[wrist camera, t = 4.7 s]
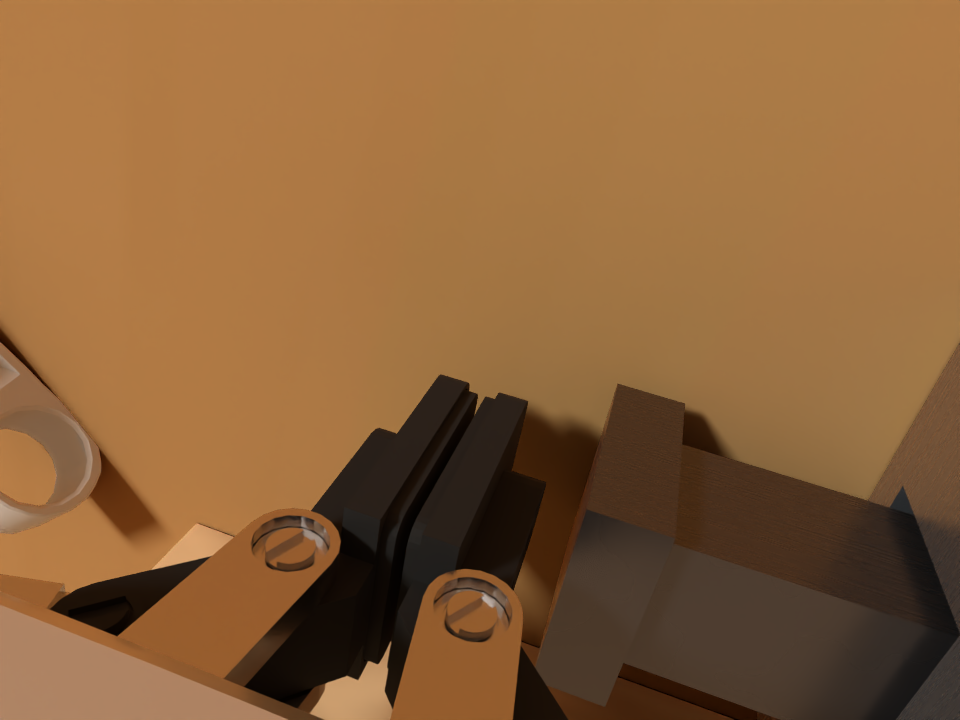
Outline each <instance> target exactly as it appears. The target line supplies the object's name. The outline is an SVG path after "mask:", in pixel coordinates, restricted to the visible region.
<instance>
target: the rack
mask: <svg viewBox="0 0 960 720" xmlns="http://www.w3.org/2000/svg"><path fill="white" fill-rule="evenodd" d="M232 538H234V537H233V536H230V535H227V534H225V533H222V532H219V531H216V530H214V529H211V528H208V527H205V526H203V525H200V524H197V523H196V524H195V525H194V526H193V527H192V529H191V530H190V531H189V532H188V533H187V534H186V535H185V536H184V537H183V538H182V539H181V540H180V541H179V542H178V543H177V544H176V545H175V546H174V547H173V548H172V549H171V550H170V551H169V552H168V553H167V554H166V555H165V556H164V557H163V558H162V559H161V560H160V561H159V562H158V563H157V564H156V565H155V566H154V567H153V568H152V569H151V570H153V569H158V568H162V567H166V566H171V565H175V564H179V563H184V562H188V561H192V560H197V559H201V558H205V557H210V556H212V555H214V554H215V553H216V552H217V551H218V550H219V549H221V548H222V547H223V546H224V545H225V544H227V543H228V542H229V541H230V540H231V539H232ZM390 645H391V642H390V644H389V646H388V648H387V650H386V652H385V654H384V656H383V658H382V660H381V661H380V663H379V664H375V663H372V662H370V661H368V663H367V665H366V667H365V668H364V670H363V672H362V674H361V676H360V678H359V680H356V679H354V678H351V677H348V676H346V677H343V678H340V679H337V680H334V681H331V682H328V683H326V686H325V691H324V693H323V695H322V696H321V698H320V700H319V702H318V703H317V704H316V706H315V707H314V708H313V710H312V711H311V712H310V714H312V715H314V716H317V717H319V718H322V719H324V720H390V718H391V714H392V711H393V709H392V707H391V705H390V703H389V700H388V698H387V696H386V694H385V685H386V679H387V674H388V668H387V663H388V657H389V651H390ZM521 646H522V648H523V650H524V651H525V653H526V654H527V656H528V657H529V659H530V661H531V662H532V664H533V665H534V667H535V664H536V660H537V656H538V652H539V649H540V648H537V647H534V646H531V645H529V644H526V643H523V642H521ZM546 686H547V685H546ZM547 687H548V689H549V690H550V692H551V693H552V695H553V696H554V698H555V700H556V701H557V703H558V704H559V706H560V707H561V709H562V710H563V712H564V714H565V715H566V717H567V718H568V720H734V719H731V718H729V717H726V716H723V715H721V714H718V713H715V712H712V711H710V710H707V709H704V708H701V707H699V706H696V705H693V704H690V703H688V702H685V701H682V700H679V699H677V698H674V697H671V696H668V695H666V694H663V693H660V692H657V691H655V690H652V689H649V688H647V687H644V686H641V685H638V684H636V683H633V682H630V681H627V680H625V679H622V678H619V677H617V679H616V682H615V684H614V687H613V689H612V691H611V694H610V696H609V699H608V701H607V703H606V706H605V707H603V706H601V705H598V704H595V703H593V702H590V701H587V700H585V699H582V698H579V697H577V696H574V695H571V694H569V693H566V692H563V691H561V690H558V689H555V688H553V687H550V686H547Z"/></svg>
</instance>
